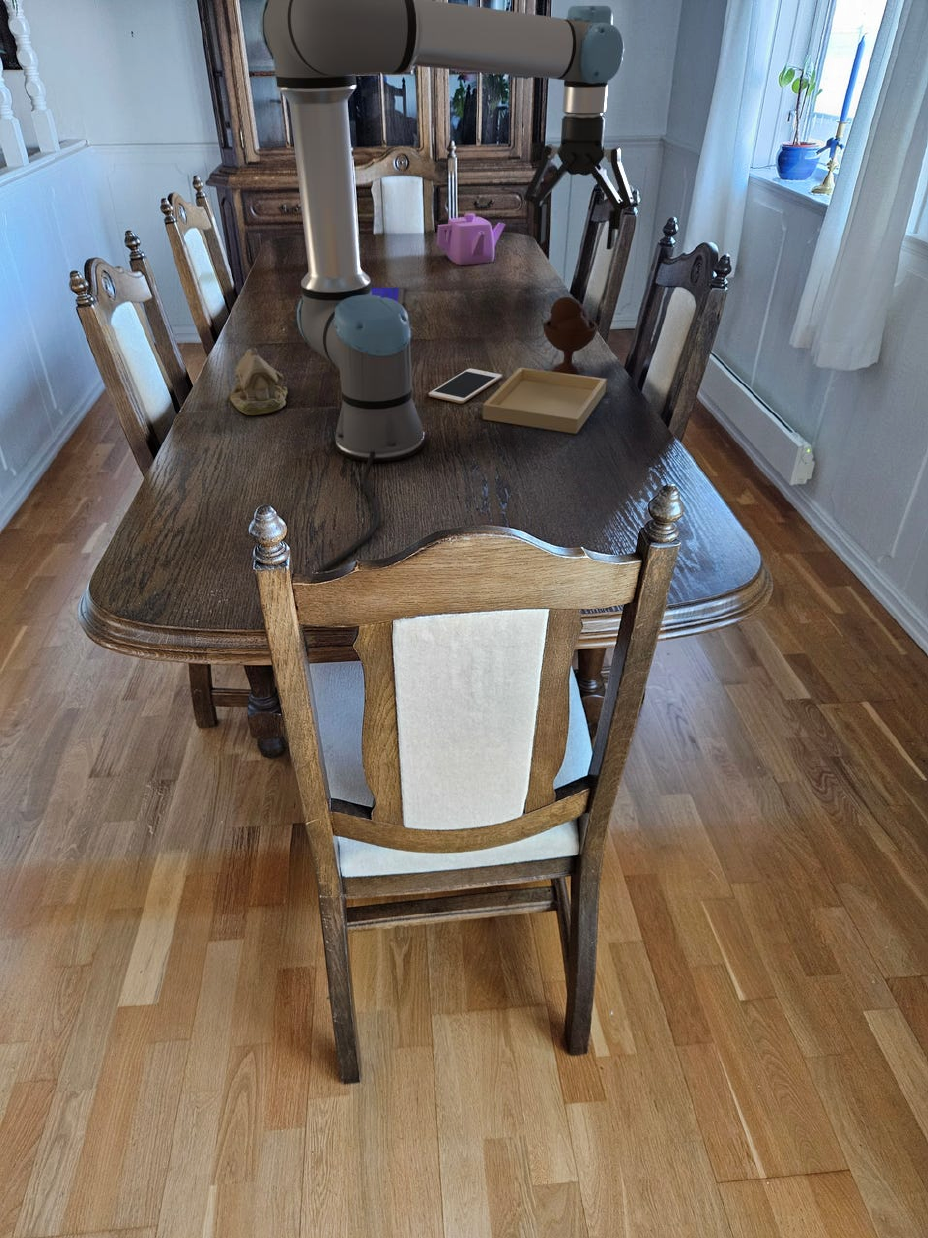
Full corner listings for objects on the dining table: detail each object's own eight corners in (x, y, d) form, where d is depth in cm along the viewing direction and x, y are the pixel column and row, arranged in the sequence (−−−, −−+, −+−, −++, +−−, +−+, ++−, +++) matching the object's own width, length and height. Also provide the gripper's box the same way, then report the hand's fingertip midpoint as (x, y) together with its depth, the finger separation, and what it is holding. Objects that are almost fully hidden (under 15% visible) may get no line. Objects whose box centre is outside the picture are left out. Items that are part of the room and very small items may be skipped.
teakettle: (457, 249, 257) (456, 206, 249) (507, 255, 250) (508, 210, 243) (431, 262, 244) (430, 216, 237) (482, 268, 238) (483, 221, 231)
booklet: (343, 319, 199) (343, 316, 199) (352, 290, 219) (352, 287, 219) (395, 318, 199) (395, 315, 199) (399, 290, 219) (399, 287, 219)
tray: (576, 434, 146) (577, 419, 144) (482, 419, 151) (482, 404, 150) (605, 392, 162) (606, 378, 160) (519, 380, 167) (519, 367, 165)
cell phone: (502, 377, 168) (502, 374, 167) (462, 404, 157) (462, 400, 156) (469, 370, 171) (469, 367, 171) (427, 396, 160) (427, 393, 160)
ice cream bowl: (592, 381, 166) (599, 305, 157) (537, 377, 168) (540, 301, 159) (596, 363, 175) (602, 289, 166) (543, 360, 176) (547, 287, 168)
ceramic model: (226, 392, 162) (217, 341, 156) (283, 384, 165) (276, 334, 159) (237, 419, 152) (227, 365, 146) (297, 410, 155) (290, 357, 149)
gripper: (659, 114, 143) (644, 245, 156) (522, 110, 151) (519, 235, 164) (650, 119, 138) (635, 254, 151) (509, 114, 145) (506, 243, 158)
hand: (575, 244), depth 157 cm, fingers open, 13 cm apart
